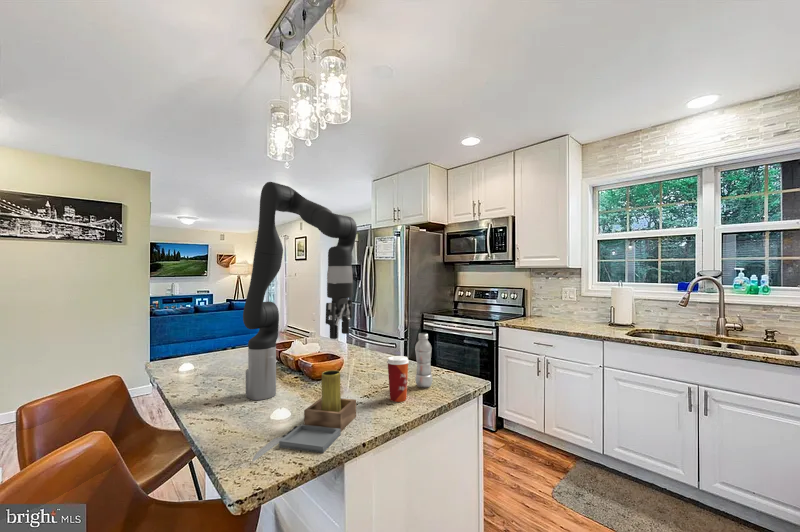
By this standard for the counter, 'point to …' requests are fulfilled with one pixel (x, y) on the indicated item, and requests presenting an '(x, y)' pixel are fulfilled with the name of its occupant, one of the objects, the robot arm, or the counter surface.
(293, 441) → the tray
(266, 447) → the chef's knife
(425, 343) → the plastic bottle
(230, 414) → the counter surface
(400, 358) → the paper cup
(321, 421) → the brown wooden box
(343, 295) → the robot arm
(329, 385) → the vase
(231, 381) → the counter surface
